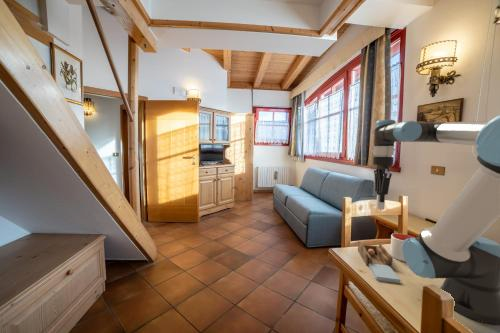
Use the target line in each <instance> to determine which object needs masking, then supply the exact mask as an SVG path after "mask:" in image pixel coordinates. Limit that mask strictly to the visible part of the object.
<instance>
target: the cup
mask: <svg viewBox="0 0 500 333" xmlns="http://www.w3.org/2000/svg"><path fill="white" fill-rule="evenodd" d="M408 238H416V237H414V236H412V235H409V234H406V233H405V234H404V233H399V232H398V233H397V232H396V233H392V234H391V235H390V249H389V250H390V251H389V252H390V253H389V254H390V255H391V257H392V258H394V259H395V260H398V261H401V262H405V263H406V261H405V259H404V256H403V252H402V244H403V242H404V240H406V239H408Z"/></svg>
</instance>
